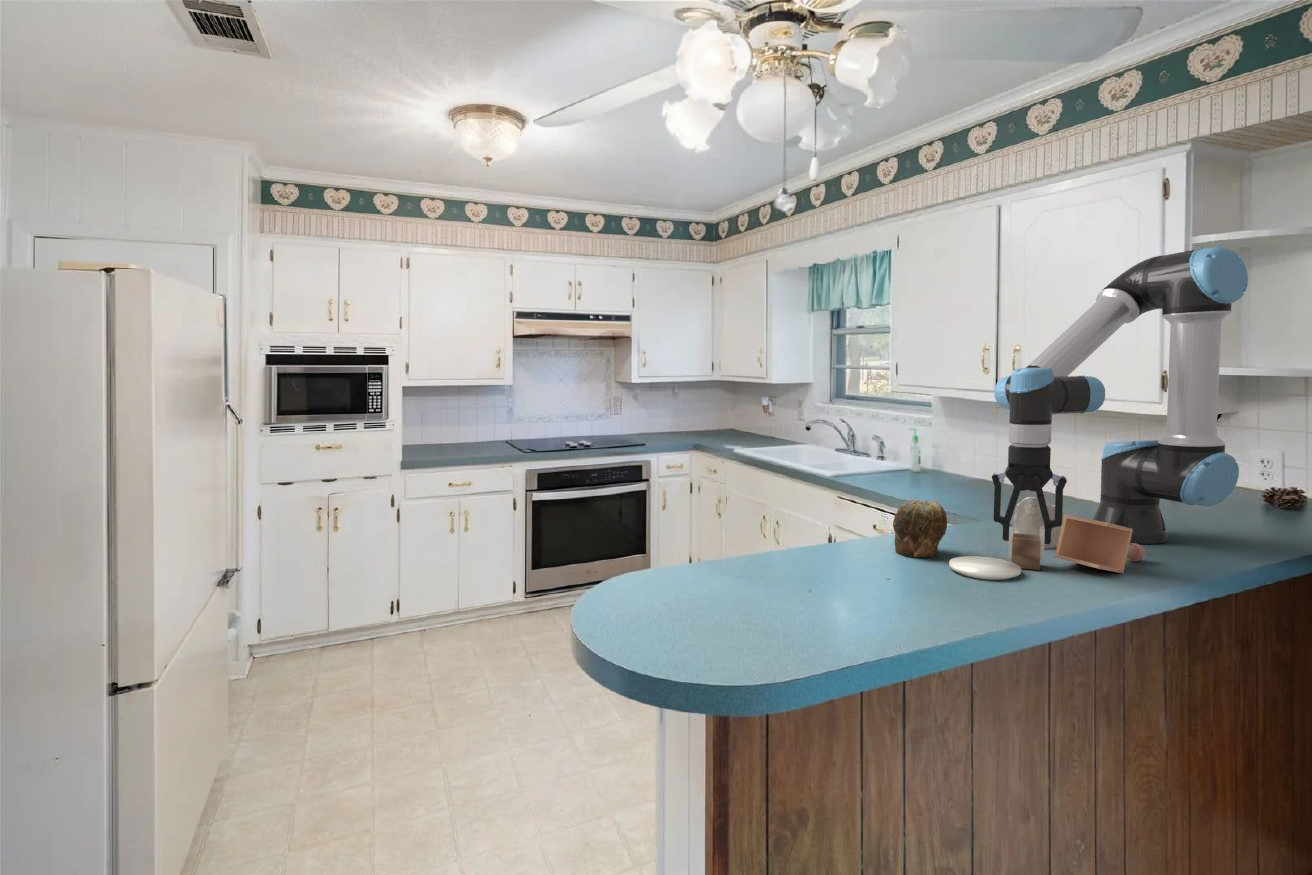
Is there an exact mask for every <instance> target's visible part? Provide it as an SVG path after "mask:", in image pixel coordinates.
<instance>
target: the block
mask: <svg viewBox="0 0 1312 875" xmlns="http://www.w3.org/2000/svg"><path fill="white" fill-rule="evenodd" d="M1040 546H1041V540H1040V536H1039V535H1033V534H1019V533H1015V532H1013V537H1012V558H1010V559H1011V560H1010V562H1013V563H1015V564H1017V565H1019V566H1020V567H1021V569H1027V570H1034V571H1035V570H1037V571H1040V569H1041V561H1040Z"/></svg>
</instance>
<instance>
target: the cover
mask: <svg viewBox="0 0 1312 875" xmlns="http://www.w3.org/2000/svg"><path fill="white" fill-rule="evenodd" d="M1132 531H1133V529H1131V528H1127V527H1123V526H1119V525H1115V524H1111V523H1106V522H1101V521H1096V520H1093V519H1092V518H1091V519H1090V518H1085V517H1079V516H1074V515H1070V514H1065V513H1063V522H1062V527H1061V531H1060V536H1059V540H1058V545H1057V548H1055V549H1056V550H1055V556H1054V558H1055V559H1058V560H1059V559H1060V560H1063V561H1067V562H1072V563H1076V564H1080V565H1083V566H1086V567H1091V568H1095V569H1098V570H1104V571H1109V572H1113V573H1117V574H1118V573H1120V574H1124V572H1125V567H1126V563H1127V560H1128V561H1130V562H1136V563H1137V562H1139V561H1142V560H1144V558H1145V556H1146V550H1145V548H1144V547H1143V546H1142V545H1140V543H1130V540H1131V536H1132Z"/></svg>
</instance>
